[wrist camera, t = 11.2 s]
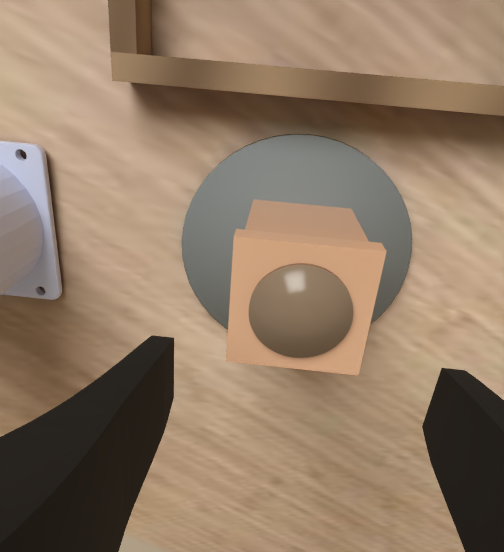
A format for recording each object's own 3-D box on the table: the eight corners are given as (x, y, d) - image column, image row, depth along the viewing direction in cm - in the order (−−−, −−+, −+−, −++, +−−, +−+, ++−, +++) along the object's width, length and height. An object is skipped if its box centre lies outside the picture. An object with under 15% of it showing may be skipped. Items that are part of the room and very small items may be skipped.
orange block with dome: (241, 290, 21) (225, 366, 16) (248, 193, 19) (232, 239, 14) (340, 300, 21) (359, 380, 16) (358, 203, 19) (388, 254, 13)
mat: (183, 332, 23) (180, 338, 23) (186, 123, 19) (183, 123, 18) (382, 354, 23) (384, 360, 23) (434, 146, 18) (439, 147, 18)
